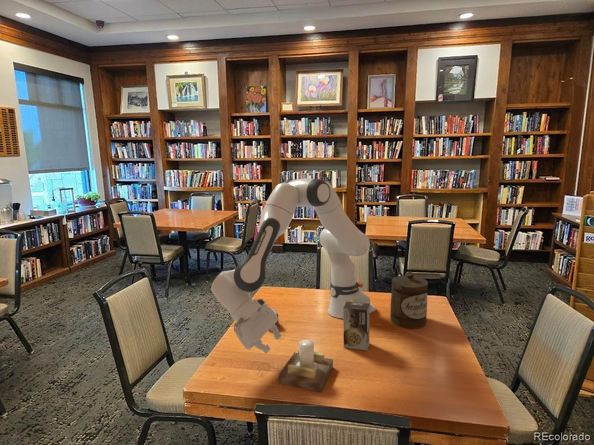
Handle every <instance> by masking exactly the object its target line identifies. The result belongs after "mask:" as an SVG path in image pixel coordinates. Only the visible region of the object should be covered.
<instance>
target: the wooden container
mask: <svg viewBox="0 0 594 445" xmlns="http://www.w3.org/2000/svg"><path fill="white" fill-rule="evenodd" d="M414 275H415V274H414V272H412V271H407V272H406V273H405V275H398V276H395V277H393V278H392V279H391V293H390V294H391V295H390V317H389V318H390V322H392V323H393V324H394V325H396V326H398V327H400V328H406V329H419V328H422V327H424V326H426V324H427V316H428V315H427V314H428V287H429V284H428V281H427V279H424V278H423V277H419V276H414Z"/></svg>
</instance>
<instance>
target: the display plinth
mask: <svg viewBox="0 0 594 445" xmlns="http://www.w3.org/2000/svg"><path fill="white" fill-rule="evenodd" d="M333 368H334V359H332V358H328V357H327V358H326V357H325V353H323V352H317V351H314V367H313V368H312V369H311V368H306V367H301V366H299V349H298V351H297V352H293V353H292V355H291V356H290V358H289V359H288V361H287V363H286V364H285V365H284V367H283V368H282V369H281V371H280V372H279V374H278V384H281V385H286V386H289V385H290V387H295V388H299V387H300V389H303V388H304V389H303V390H310V391H313V392H318V393H322V391H323V389H324V387H325V385H326V383H327V380H328V379H329V376H330V375H331V372H332V370H333Z"/></svg>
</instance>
